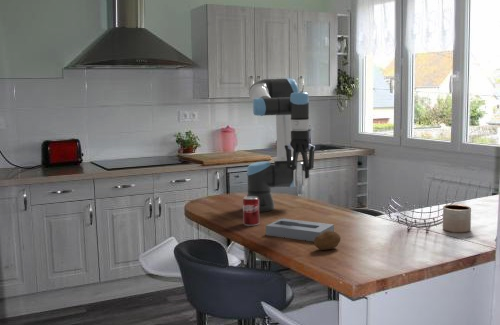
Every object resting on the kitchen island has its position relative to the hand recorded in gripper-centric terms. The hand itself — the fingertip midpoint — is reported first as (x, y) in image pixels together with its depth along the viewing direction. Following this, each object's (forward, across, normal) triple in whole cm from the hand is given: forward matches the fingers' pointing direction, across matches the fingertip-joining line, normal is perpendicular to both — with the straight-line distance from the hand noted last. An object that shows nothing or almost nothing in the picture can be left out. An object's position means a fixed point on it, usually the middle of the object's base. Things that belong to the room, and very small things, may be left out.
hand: (300, 185), depth 229 cm
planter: (+19, +58, +26) cm, 67 cm away
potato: (+19, +21, -22) cm, 36 cm away
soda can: (+19, -24, -1) cm, 30 cm away
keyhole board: (+19, +3, -8) cm, 21 cm away
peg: (+3, 0, 0) cm, 3 cm away
